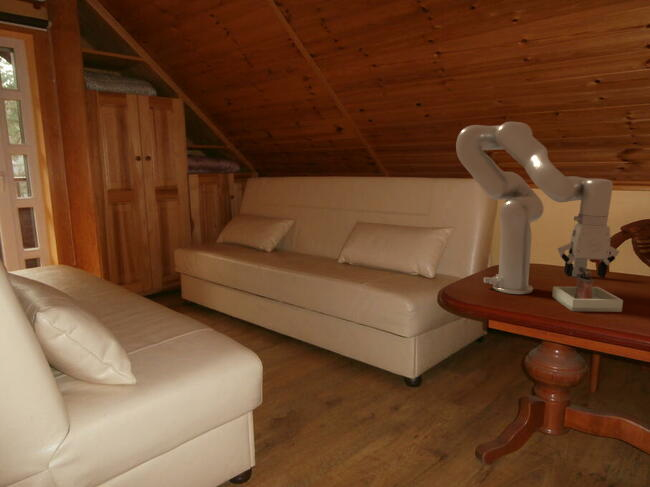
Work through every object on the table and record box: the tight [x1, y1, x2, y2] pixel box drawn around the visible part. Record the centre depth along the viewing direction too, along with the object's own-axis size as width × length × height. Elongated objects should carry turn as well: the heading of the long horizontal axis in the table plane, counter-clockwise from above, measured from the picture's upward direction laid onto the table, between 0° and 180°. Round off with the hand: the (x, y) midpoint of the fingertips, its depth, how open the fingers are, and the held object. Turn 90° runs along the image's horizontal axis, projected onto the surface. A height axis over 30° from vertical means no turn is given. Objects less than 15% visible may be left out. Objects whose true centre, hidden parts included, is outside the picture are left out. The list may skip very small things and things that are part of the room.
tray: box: [552, 285, 624, 313], centre depth 142 cm, size 14×14×4 cm
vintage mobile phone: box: [571, 258, 588, 278], centre depth 172 cm, size 4×5×25 cm
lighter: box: [575, 267, 594, 299], centre depth 141 cm, size 8×3×10 cm, turn 172°
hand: (584, 276), depth 141 cm, fingers open, 9 cm apart
